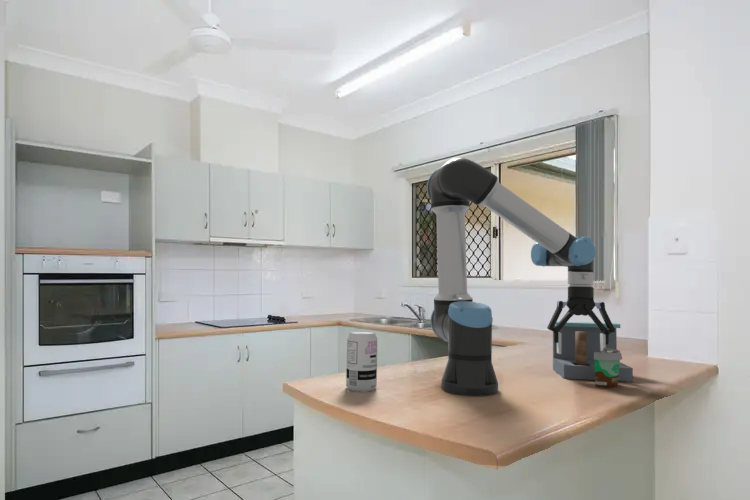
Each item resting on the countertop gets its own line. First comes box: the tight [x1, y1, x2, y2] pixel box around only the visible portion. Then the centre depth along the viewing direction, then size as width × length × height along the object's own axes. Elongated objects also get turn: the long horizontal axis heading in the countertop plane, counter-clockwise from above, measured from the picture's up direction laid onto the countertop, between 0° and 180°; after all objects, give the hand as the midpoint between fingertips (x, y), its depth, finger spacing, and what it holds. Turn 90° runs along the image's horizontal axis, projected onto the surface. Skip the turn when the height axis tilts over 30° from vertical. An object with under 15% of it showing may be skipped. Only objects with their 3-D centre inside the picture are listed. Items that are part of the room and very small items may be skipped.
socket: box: [552, 320, 634, 382], centre depth 154 cm, size 20×14×16 cm
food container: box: [594, 348, 623, 389], centre depth 139 cm, size 12×6×10 cm, turn 143°
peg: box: [575, 331, 587, 366], centre depth 151 cm, size 3×3×14 cm
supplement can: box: [345, 330, 378, 393], centre depth 130 cm, size 8×8×15 cm
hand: (580, 354), depth 151 cm, fingers open, 12 cm apart
